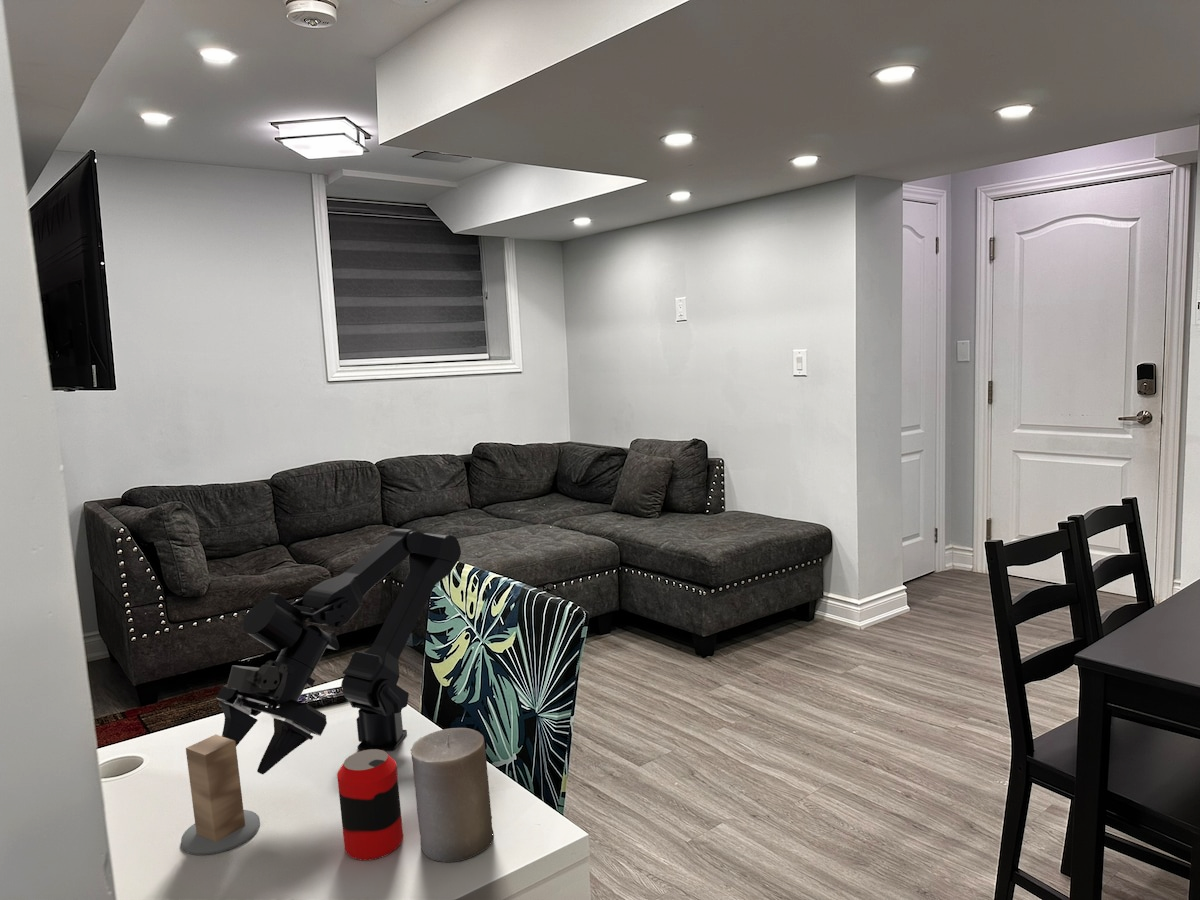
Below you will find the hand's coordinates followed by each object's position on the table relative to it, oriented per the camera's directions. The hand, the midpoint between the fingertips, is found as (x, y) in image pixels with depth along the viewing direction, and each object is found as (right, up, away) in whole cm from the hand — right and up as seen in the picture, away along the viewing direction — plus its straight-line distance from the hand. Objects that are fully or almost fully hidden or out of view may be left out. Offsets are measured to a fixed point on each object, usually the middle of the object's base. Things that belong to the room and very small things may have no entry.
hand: (239, 766), depth 119 cm
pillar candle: (+32, -7, -7) cm, 34 cm away
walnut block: (-2, -8, -2) cm, 8 cm away
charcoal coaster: (-2, -9, -2) cm, 9 cm away
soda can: (+21, -8, -7) cm, 24 cm away
